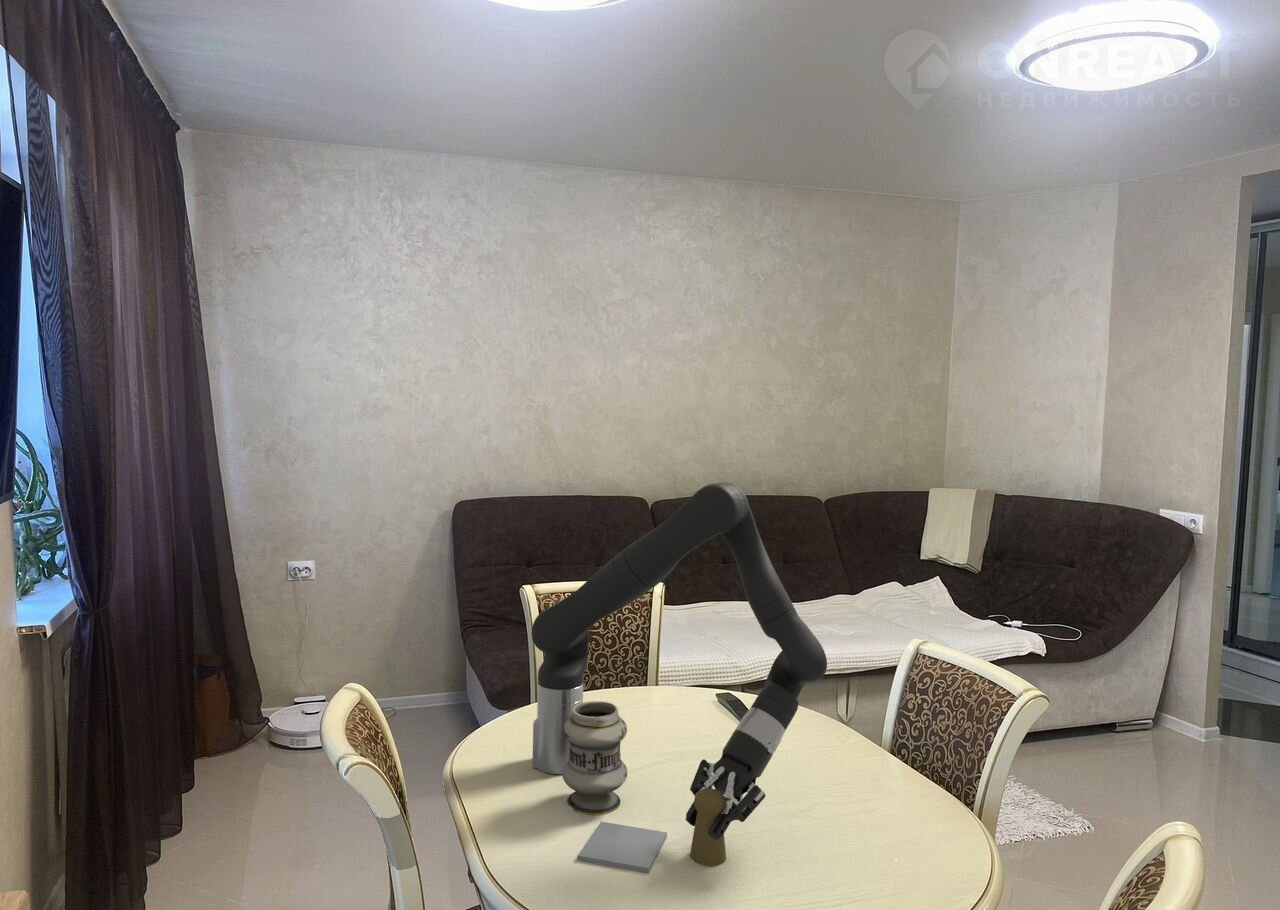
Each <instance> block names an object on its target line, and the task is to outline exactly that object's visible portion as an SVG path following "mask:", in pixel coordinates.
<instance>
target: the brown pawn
mask: <svg viewBox="0 0 1280 910" xmlns="http://www.w3.org/2000/svg"><path fill="white" fill-rule="evenodd" d="M724 796H725V795H723V793H722V792H720V791H718V790H716V789H715V788H713V789H709V788H708V789H702V790H700V791H698V793H697V794H696V795H695V796H694V800H693V802H694V805H695V809H696V810H697V816H696V822H695V826H694V828H693V830H694V831H693V835H692V841H691V846H690V851H689V852H690V853H689V858H690V859H691V861H693V862H694V863H695V864H698V865H700V866H703V867H715V866H720V865H722V864H723V863H725V862H726V860H727V851H726V850H727V849H726V843H725V833H724V834H723V836H722V837H721V838H719V839H718V840H716V839H714V838H713V837H711V836H710V835H709V830H710V828H711V827H712V825H713V823H714V822H715V820H716V818H717V817H718V815H719V813H723V812H722V810H723V807H724V803H725V799H724Z"/></svg>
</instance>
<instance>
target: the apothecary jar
mask: <svg viewBox="0 0 1280 910" xmlns="http://www.w3.org/2000/svg"><path fill="white" fill-rule="evenodd" d="M627 732H628V727H627V723H626V722H625V720H624V719H623V718H622V717H621V716H620V714H619V708H618V707H617V705H615V704H614V703H611V702H608V701H601V700H599V701H598V700H592V701H591V700H590V701H583V703H580V704H578V705H576V706H575V707H574V708H573V711H572V715H571V717H570V718H569V719H568V720H567V721H566V722H565V724H564V727H563V733H564V735H565V737H566V739H567V740H568V741H569V760H568V761H567V763H566V764H565V765H564V767H563V771H562V774H561V775H562V779H563V781H564V783H565V784H566V785H567V786H568V788H570V789H571V790H572V791H573V792H571V794H570V795H569V796H568V797H567V805H568V806H569V807H572V810H573V811H574V810H575V812H577V813H579V814H584V815H591V816H595V815H596V814H598V816H599V814H601V815H606V814H609V813H612V812H614V811H616V810H617V809H618V808H619V807H620V805H621V798H620V797H619V795H618V794H617V792H614V791H617V790H618V789H619V788H620V787H621V786H622V785H624V783H625V782H626V780H627V778H628V769H627V766H626V764H625V763H624V761H623V760H622V759H621V742H622V740H624V739H625V737H626V735H627ZM605 813H606V814H605Z"/></svg>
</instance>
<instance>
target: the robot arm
mask: <svg viewBox="0 0 1280 910" xmlns="http://www.w3.org/2000/svg"><path fill="white" fill-rule="evenodd" d="M718 535H721V537H722V539H723V540H724V541H725V543H726V544H727V546H728V548H729V549H730V551H731V553H732V556H733V558H734V561H735V563H736V566H737V569H738V573H739V576H740V580H741V584H742V587H743V591H744V594H745V597H746V600H747V602H748V604H749V606H750V609H751V611H752V613H753V614H754V617H755V618H756V620H757V622H758V624H759V625H760V627H761V630H762V632H763V633H764V634H765V636H767V637H768V638H771V639H773V640H774V641H776V643H777V644H778V646H779V648H780V649H781V651H780V652H779V654H778V655H777V656H776V658H775V660H774V661H773V663H772V665H771V668H770V670H769V672H768V675H767V677H766V679H765V683H764V686H763V688H762V689H761V691H760V692H759V694H758V695H757V697H755V700H754V702H753V703H752V704H751V706H750V707H749V709H748V710H747V712H746V713H745V714H744V715H743V717H742V718H741V720H740V721H739V723H738V725H737V726H736V727H735V730H734V731H733V732H732V735H730V737H729V739H728V741H727V742H726V744H725V746H724V747H723V749H722V753H721V757H720V758H719V759H718V760H717V761H716V762H715V763H712V762H708V761H707V759H704V758H703V759H701V760H700V762H699V765H698V768H697V770H696V773H695V775H694V778H693V780H692V782H691V785H690V788H689V790H690V792H691V793H692V795H693V796H694V797H695V795H696V794H697V793H698V791H700V790H702V789H708V788H709V789H716V790H718V791H720V792H722V793H723V795H724V799H725V803H724V807H723V810H722V812H723V813H719V815H718V817H717V818H716V820H715V822H714V823H713V825H712V827H711V828H710V830H709V835H710V836H711V837H713V838H714V839H716V840H718V839H719V838H721V837H722V836H723V834H724V835H725V833H726V831H727V829H728V827H730V824H731V823H732V822H734V821H739V822H741V823H744V822H745V821H746V820H747V819H748V818H749V817H750V815H751V814H752V813H753V811H754V810H755V809H757V807H758V806H759V805H760V804H761V803H762V801H763V800H764V799H765V798H766V792H764V791H763V790H762V789H761V787H759V785H757V784H756V781H757V778H760V777H762V774H763V773H764V771H765V770H766V767H767V766H768V764H769V763H770V761H771V759H772V757H773V756H774V754H775V753H776V751H777V749H778V747H779V745H780V744H781V741H782V739H783V736H784V734H785V733H786V730H787V728H788V727H789V725H790V723H791V722H792V721H793V719H794V717H795V715H796V713H797V711H798V709H799V701H798V697H799V695H800V693H801V691H802V689H803V687H804V686H805V685H806V684H811V683H815V682H817V681H819V680H821V679H822V678H823V677H824V676H825V674H826V672H827V670H828V669H827V668H828V659H827V655H826V653H825V649H824V648H823V646H822V644H821V643H820V641H819V640H818V638H817V637H816V635H815V634H814V633H813V632H812V631H811V629H810V627H808V625H807V624H806V623H805V622H804V621H803V619H802V618H801V617H800V616H799V615H798V612H797V610H796V607H795V606H794V604H793V602H792V600H791V598H790V596H789V594H788V592H787V590H786V589H785V587H784V585H783V584H782V581H781V580H780V577H779V576H778V574H777V571H776V569H775V567H774V566H773V564H772V561H771V559H770V557H769V554H768V553H767V550H766V548H765V545H764V543H763V540H762V538H761V535H760V533H759V531H758V527H757V525H756V522H755V518H754V515H753V512H752V510H751V506H750V504H749V501H748V498H747V496H746V494H745V492H744V491H743V490H742V489H741V488H740V487H739V486H737V485H735V484H733V483H730V482H717V483H710V484H707V485H705V486H702V487H701V488H700V489H698V490H697V491H695V493H694V494H693V495H692V496H690V498H689V499H688V500H687V501H686V502H685V503H683V504H682V506H681V507H679V508H678V510H676V511H675V512H674V513H672V515H671V516H670V517H669V518H668V519H666V520H665V521H664V522H662V523H661V524H660V525H658V526H657V527H654V528H653V529H651V530H650V531H648V532H646V533H645V534H643V535H642V536H641V537H640V538H638V539H637V540H635V541H634V542H632V543H631V544H629V545H628V546H627V547H625V548H624V549H623V550H622V551H620V552H619V553H617V554H616V555H615V556H614V557H612V558H611V559H610V560H609V561H608V562H607V563H606V564H604V565H603V566H602V567H601V568H599V570H598V571H596V572H595V573H593V575H592V576H590V577H589V578H588V579H587V581H585V582H584V583H583V584H582V585H581V586H580V587H579V588H578V589H577V590H575V591H574V592H573V593H571V594H570V595H568V596H567V597H565V598H563V599H561V600H560V601H558V602H557V603H555V604H553V605H552V606H550V607H548V608H546V609H544V610H542V611H541V612H540V613H538V615H537V616H536V617H535V618H534V621H533V623H532V626H531V639H532V642H533V644H534V646H535V647H536V648H537V649H538V650H539V651H540V652H543V653H545V657H544V660H543V662H542V664H541V665H540V666H539V668H538V671H537V704H536V705H537V708H536V709H537V710H536V719H534V721H532V723H533V724H532V762H531V763H532V764H531V765H532V768H535V769H537V770H539V771H540V772H543V773H547V774H550V775H551V774H552V775H562V771H563V767H564V765H565V764H566V763H567V761H568V760H569V741H568V740H567V739H566V737H565V735H564V733H563V727H564V724H565V722H566V721H567V720H568V719H569V718H570V717H571V715H572V711H573V708H574V707H575V706H576V705H578V704H580V703H583V702H584V676H585V673H586V670H587V666H588V659H589V645H590V644H589V643H590V628H591V627H592V626H594V625H595V624H597V623H598V622H599V621H601V620H602V619H605V618H606V617H609V616H610V615H612V614H613V613H615V612H618V611H620V610H621V609H623V608H625V607H627V606H628V605H631V603H633V602H635V601H636V600H638V599H640V598H641V597H642V596H644V595H646V593H648V592H650V591H651V590H652V589H654V588H655V587H656V586H658V585H659V584H660V583H662V581H664V579H666V578H667V577H668V575H669V574H670V573H672V571H673V570H674V569H675V568H676V567H677V565H678V564H679V563H680V562H681V561H682V559H684V557H686V556H687V555H688V554H689V553H691V552H692V551H693V550H695V549H696V548H698V547H700V546H701V545H703V544H704V543H706V542H708V541H709V540H711V539H713V538H715V537H716V536H718ZM696 816H697V810H696V809H695V805H694V801H693V802H692V804H691V805H690V807H689V808H688V810H687V811H686V814H685V821H686V822H687V823H688V824H689V825H691V826H692V827H695V822H696Z"/></svg>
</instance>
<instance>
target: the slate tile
mask: <svg viewBox="0 0 1280 910" xmlns="http://www.w3.org/2000/svg"><path fill="white" fill-rule="evenodd" d="M667 837H668V832H666V831H660V830H653V829H650V828H649V829H648V828H642V827H637V826H631V825H624V824H620V823H613V822H607V821H600V822H599V824H598V825H597V827H596V828H595V829H594V831H593V833H592V834H591V835H590V837H589V839H588V840H587V842H586V843H585V844H584V846H583V847H582V849H581V850H580V851H579V853H578V855H577V861H580V862H585V861H586V863H590V864H598V865H602V866H608V867H614V868H619V869H623V870H624V869H625V870H629V871H636V872H641V873H647V874H649V873H650V872H651V870H652V868H653V866H654V864H655V861H656V860H657V858H658V855H659V854H660V851H661V850H662V848H663V846H664V844H665V842H666V840H667Z"/></svg>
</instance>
